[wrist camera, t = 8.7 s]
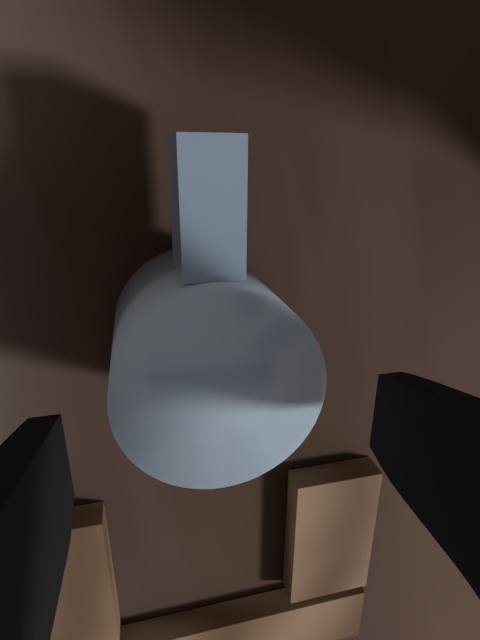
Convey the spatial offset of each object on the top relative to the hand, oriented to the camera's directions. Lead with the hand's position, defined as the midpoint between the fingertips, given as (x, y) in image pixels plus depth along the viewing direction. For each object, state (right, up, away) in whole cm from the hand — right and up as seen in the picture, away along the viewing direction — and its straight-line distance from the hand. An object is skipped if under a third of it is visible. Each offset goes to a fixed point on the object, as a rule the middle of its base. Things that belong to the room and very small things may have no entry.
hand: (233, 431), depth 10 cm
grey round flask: (-2, +4, +6) cm, 7 cm away
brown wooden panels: (-2, -10, +11) cm, 14 cm away
